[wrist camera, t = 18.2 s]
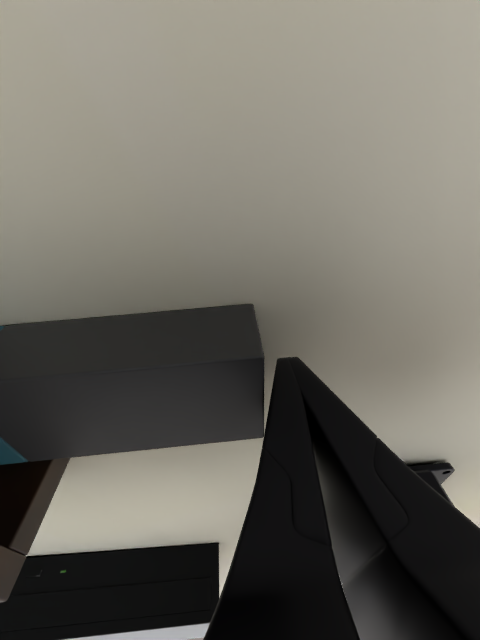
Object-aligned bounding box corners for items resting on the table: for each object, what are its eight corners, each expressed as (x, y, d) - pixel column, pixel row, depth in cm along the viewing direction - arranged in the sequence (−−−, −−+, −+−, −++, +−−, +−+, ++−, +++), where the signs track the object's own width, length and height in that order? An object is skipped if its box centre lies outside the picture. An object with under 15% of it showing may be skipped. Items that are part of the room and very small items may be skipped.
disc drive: (218, 542, 25) (219, 622, 21) (212, 586, 38) (212, 640, 34) (19, 556, 23) (-22, 648, 19) (87, 597, 36) (71, 656, 32)
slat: (253, 302, 8) (264, 356, 6) (255, 381, 11) (264, 438, 9) (-257, 347, 8) (-413, 420, 6) (-137, 419, 10) (-220, 488, 8)
